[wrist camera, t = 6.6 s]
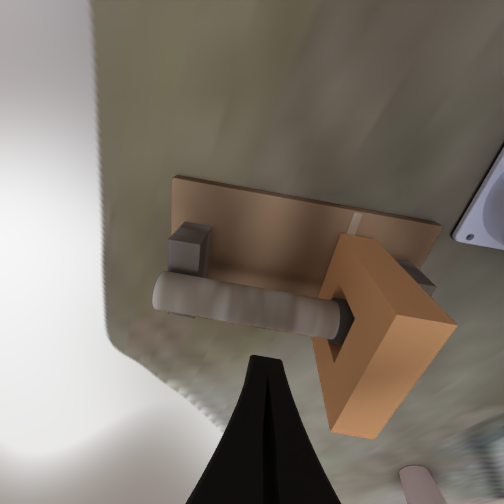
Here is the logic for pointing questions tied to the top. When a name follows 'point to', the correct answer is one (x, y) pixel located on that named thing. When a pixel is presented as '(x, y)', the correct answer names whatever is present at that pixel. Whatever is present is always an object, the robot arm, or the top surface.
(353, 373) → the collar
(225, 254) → the pipe rig
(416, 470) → the smoothie
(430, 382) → the top surface
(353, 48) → the top surface
